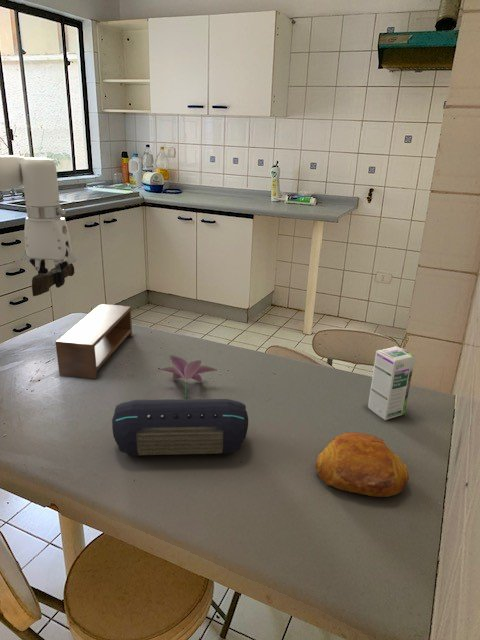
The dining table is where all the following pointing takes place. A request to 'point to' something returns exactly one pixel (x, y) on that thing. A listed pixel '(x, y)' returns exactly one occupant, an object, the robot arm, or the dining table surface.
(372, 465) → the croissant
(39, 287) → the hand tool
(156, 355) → the dining table surface
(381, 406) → the syrup box
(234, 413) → the portable speaker
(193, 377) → the lily
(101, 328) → the shelf stand
